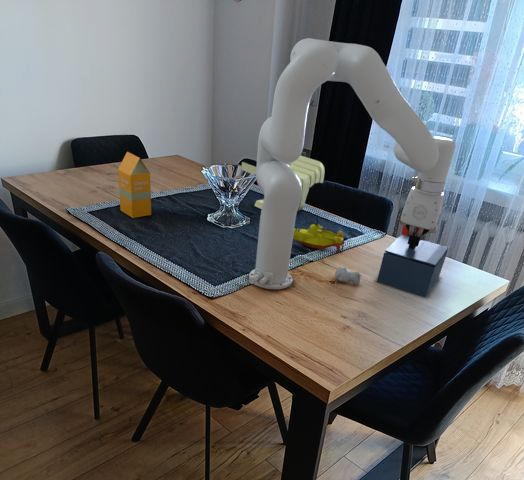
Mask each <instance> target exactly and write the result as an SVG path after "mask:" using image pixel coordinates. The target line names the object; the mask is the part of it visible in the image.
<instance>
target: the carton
mask: <svg viewBox="0 0 524 480" xmlns="http://www.w3.org/2000/svg"><path fill="white" fill-rule="evenodd" d="M423 241H424V242H423V244H422V245H421V246H420V247H419V248H418V249H417V250H416V252H415V253H414V254H413V255H412V256H411V257H410V259H407V258H404V257H401V256H398V255H395V254H391V253H388V252H385V251H384V252H383V254H382V255H383V256H382V260H381V263H380V266H379V272H378V275H377V279H376V283H379V284H382V285H385V286H389V287H391V288H394V289H397V290H400V291H402V292H403V291H404V292H407V293H410V294H413V295H417V296H420V297H421V298H422V297H423V298H427V296H428V294H429V293H430V292H431V290H432V289H433V287H434V286H435V284H436V283H437V282H438V280H439V278H440V276H441V273H442V269H443V266H444V263H445V260H446V257H447V254H448V251H449V246H446V245H442V244H438V243H436V242H431V241H428V240H423Z"/></svg>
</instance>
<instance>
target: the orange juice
mask: <svg viewBox="0 0 524 480" xmlns="http://www.w3.org/2000/svg"><path fill="white" fill-rule="evenodd" d="M117 175H118V177H117V178H118V194H119V195H118V196H119V209H120V211H121V212H122V213H124V214H126V215H127V216H128V217H130V218H132V219H135V218H140V217H146V216H151V215H152V191H151V189H152V188H151V172H150V171H149V170H148V168H147V166H146V165H145V163H144V162H143V160H142V159H141V157H139V156H137V155H135V154H133V153H131V152H129V151H127V152H126V153H125V155H124V156H123V159H122V161H121V162H120V164H119V166H118V168H117Z"/></svg>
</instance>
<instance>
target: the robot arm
mask: <svg viewBox="0 0 524 480" xmlns="http://www.w3.org/2000/svg"><path fill="white" fill-rule="evenodd" d="M289 57H290V59H289V61H290V62H289V63H288V64H287V66H286V67H285V68H284V69H283V71H282V72H281V74H280V75H279V78H278V80H277V82H276V85H275V90H274V94H273V101H272V108H271V116H270V117H268V118H266V120H264V122H263V123H262V125H261V127H260V130H259V133H258V140H257V154H256V166H255V167H256V177H255V180H256V183H257V185H258V187H259V190H261V192H262V194H263V199H264V202H263V206H262V209H261V211H260V217H259V225H258V226H259V227H258V236H257V247H256V257H255V265H254V266H255V268H254V269H252V270H251V271H249V275H248V281H247V282H249V284H251V285H254V286H256V287H259V288H261V289H266V290H283V289H287V288H289V287H290V286H292V284H293V276H292V275H291V273H289V270H290V261H291V255H292V247H293V241H294V239H293V234H294V228H295V227H296V219H297V214H298V211H299V210H298V207H299V203H300V200H301V195H302V186H301V182H300V179H299V177H298V176H297V174H296V173H295V172H294V171H293V170H292V169H291V168H290V165H291V162H294V161H295V160H297V159H298V158H299V156H300V155H301V156H302V153H303V151H304V146H305V135H306V127H307V119H308V112H309V106H310V102H311V99H312V97H313V95H314V93H315V92H316V90H317V89H318V88H319V87H320V86H321V85H322V84H324V83H326V82H328V81H329V82H341V83H347V84H348V85H349V86H350V87H351V88H352V89H353V91H354V92H355V94H356V96H357V97H358V99H359V100H360V101H361V103H362V105H363V106H364V108H365V110H366V112H367V113H368V114H369V116H370V117H371V119H372V120H373V122H375V124H376V125H377V126H378V127H379V128H381V130H383V131H384V132H386V133H387V134H388V135H390V137H392V139H393V140H394V141H395V143H394V144H393V155H394V156H395V158H396V159H397V160H398V161H399V162H400V163H402V164H403V165H405V166H407V167H409V168H410V169H412V170H414V171H416V172H418V175H417V176H416V177H414V176H413V177H411V180H410V183H413V184H414V186H412V187H411V188H410V191H409V193H408V195H407V197H406V200H405V203H404V205H403V209H402V212H401V216H400V221H399V225H401V226H402V227H403V226H405V227H406V228H407V229H408V231H409V234H410V236H409V240H408V244H409V247H408V248H412V249H414V248H415V247H416V246H418V245H419V242H420V238H421V239H422V237H423V236H424V235H425V234H435V233H436V232H437V231H438V224H439V221H440V218H441V214H442V210H443V204H444V198H445V193H444V187H445V184H446V180H447V177H448V174H449V171H450V167H451V164H452V161H453V157H454V154H455V150H456V142H455V141H454V140H453V139H451V138H448V137H444V136H433V135H432V133H431V131H430V129H429V128H428V126H427V125H426V123H425V122H424V121H423V119H422V118H421V117H420V116H419V114H417V112H416V111H415V109H414V108H413V107H412V106H411V104H410V103H409V102H408V100H407V99H405V97H404V95H402V93H401V91H400V89H399V88H398V85H397V84H396V82H395V80H394V79H393V77H392V75H391V74H390V73H391V72H389V70H388V68H387V66H386V64H385V63H384V62H383V59H382V58H381V56H380V54H379V53H378V52H377V51H376V50H375V49H374V48H372V47H370V46H368V45H363V44H358V43H347V42H340V41H339V42H338V41H330V40H324V39H318V38H311V37H307V38H303V39H301V40H299V41H298V42H296V43H295V45H293V47H292V49H291V52H290V56H289ZM297 210H298V211H297ZM416 227H420V229H419V231H418V233H417V234H416ZM421 236H422V237H421Z"/></svg>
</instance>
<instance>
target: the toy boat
mask: <svg viewBox="0 0 524 480" xmlns="http://www.w3.org/2000/svg"><path fill="white" fill-rule="evenodd" d="M313 221H314V222H313V223H312V224H311V225H310V226H309V227H308V229H305V228H300V227H299V228H298V227H296V228H295V227H294V234H293V241H295V242H298V243H299V244H302V245H304V246H305V247H308V248H313V249H317V250H319V249H320V250H326V249H328V248H329V249H330V248H331V247H332V248H333V247H335V248H336V252H339V253H340V249H341V250H344V247H345V245H344V244H345V243H346V241H344V239H345V237H344V233H343V230H339V231H338V232H337V231H336V230H334V229H333V228H332V227H330V226H329V225H327V224H326V223H325V222H324V221H322V220H321V219H319V218H317V219H314V220H313ZM319 221H320V222H321V223H322V224H324V225H325V226H327V227H328V228H329V229H331V230H332V231H331V230H328V229H324V228H323V226H321V225H320V224H319Z"/></svg>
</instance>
